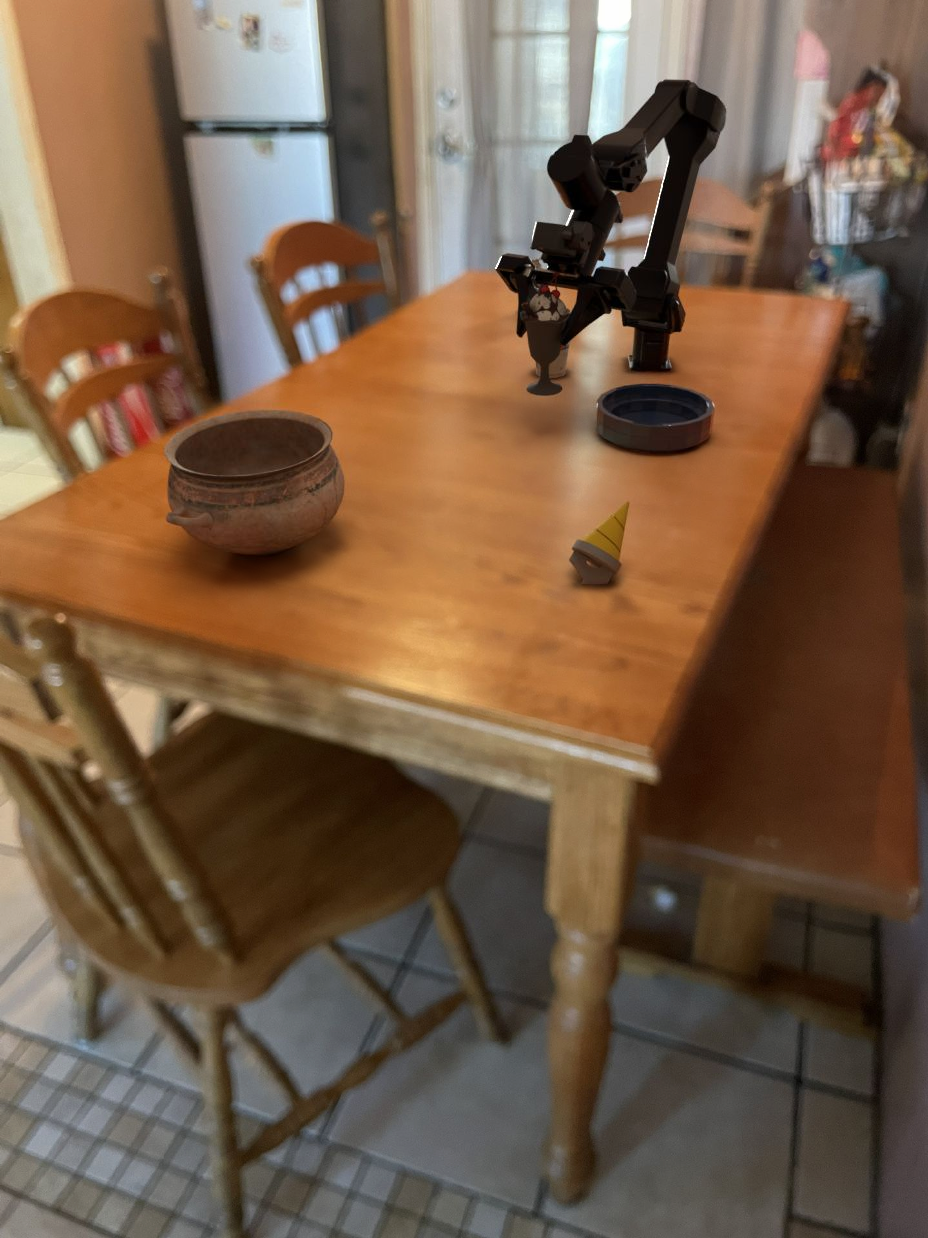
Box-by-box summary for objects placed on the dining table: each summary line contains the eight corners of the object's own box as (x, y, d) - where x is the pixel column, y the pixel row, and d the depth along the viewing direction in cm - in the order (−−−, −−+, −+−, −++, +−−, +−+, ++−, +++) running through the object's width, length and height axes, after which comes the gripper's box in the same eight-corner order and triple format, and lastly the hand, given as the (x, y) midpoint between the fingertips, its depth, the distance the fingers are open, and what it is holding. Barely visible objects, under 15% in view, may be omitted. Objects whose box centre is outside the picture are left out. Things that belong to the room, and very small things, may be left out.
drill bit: (555, 573, 97) (602, 492, 97) (599, 599, 97) (646, 517, 97) (560, 568, 91) (610, 483, 92) (606, 595, 91) (656, 509, 92)
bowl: (593, 411, 133) (594, 383, 131) (702, 411, 132) (705, 383, 129) (597, 455, 120) (599, 425, 118) (718, 456, 119) (722, 426, 117)
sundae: (573, 381, 126) (576, 268, 117) (563, 399, 120) (567, 282, 112) (526, 378, 127) (526, 266, 119) (515, 396, 122) (514, 280, 113)
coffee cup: (523, 377, 145) (523, 314, 140) (536, 364, 151) (538, 302, 145) (565, 382, 143) (567, 318, 137) (577, 368, 148) (580, 305, 143)
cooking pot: (258, 618, 90) (238, 507, 84) (123, 572, 98) (94, 468, 92) (396, 513, 108) (389, 415, 101) (272, 481, 116) (258, 388, 109)
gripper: (502, 187, 117) (454, 296, 116) (632, 199, 108) (581, 318, 107) (534, 239, 127) (490, 340, 126) (657, 254, 118) (610, 363, 117)
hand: (539, 339), depth 119 cm, fingers closed on sundae, 6 cm apart
